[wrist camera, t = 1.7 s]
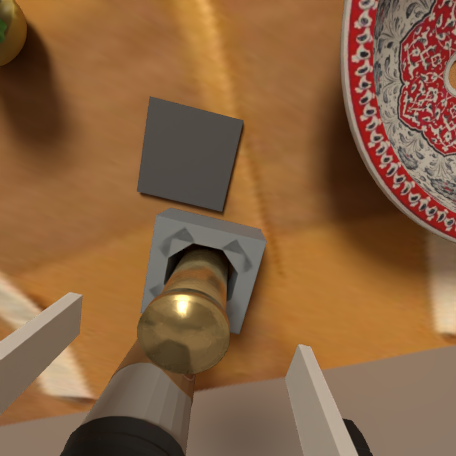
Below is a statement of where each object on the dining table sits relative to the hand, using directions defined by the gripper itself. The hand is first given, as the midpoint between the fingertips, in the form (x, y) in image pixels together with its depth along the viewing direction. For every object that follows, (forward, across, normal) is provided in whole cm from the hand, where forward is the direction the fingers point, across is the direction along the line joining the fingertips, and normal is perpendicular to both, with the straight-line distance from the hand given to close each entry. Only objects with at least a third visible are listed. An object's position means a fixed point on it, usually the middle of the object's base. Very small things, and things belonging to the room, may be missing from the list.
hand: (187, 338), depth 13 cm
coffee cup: (+12, -2, -10) cm, 16 cm away
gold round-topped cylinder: (+12, 0, 0) cm, 12 cm away
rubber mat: (+12, -4, +10) cm, 17 cm away
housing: (+12, 0, 0) cm, 12 cm away
